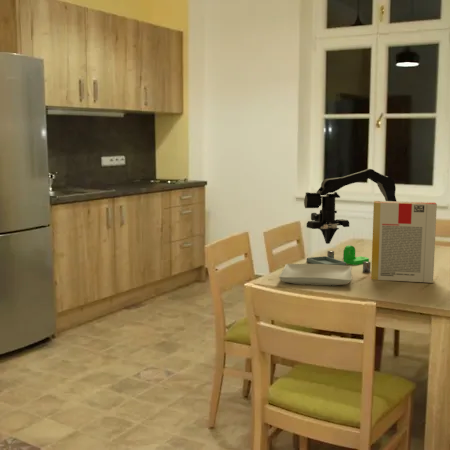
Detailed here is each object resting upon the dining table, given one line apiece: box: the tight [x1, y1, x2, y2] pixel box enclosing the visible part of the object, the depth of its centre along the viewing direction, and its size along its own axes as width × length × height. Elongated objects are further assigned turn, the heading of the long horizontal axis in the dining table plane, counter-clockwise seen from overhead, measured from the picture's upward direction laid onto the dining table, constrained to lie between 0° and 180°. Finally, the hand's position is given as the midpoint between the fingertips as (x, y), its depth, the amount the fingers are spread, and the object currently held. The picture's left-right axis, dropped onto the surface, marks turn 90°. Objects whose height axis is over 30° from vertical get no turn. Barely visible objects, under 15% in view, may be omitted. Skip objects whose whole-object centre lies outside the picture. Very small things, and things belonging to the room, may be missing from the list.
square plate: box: [278, 263, 353, 287], centre depth 238 cm, size 27×27×4 cm
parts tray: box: [306, 255, 347, 266], centre depth 266 cm, size 10×16×2 cm, turn 24°
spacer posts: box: [326, 249, 372, 273], centre depth 267 cm, size 19×31×4 cm, turn 24°
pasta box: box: [370, 200, 438, 284], centre depth 236 cm, size 23×8×30 cm, turn 75°
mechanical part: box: [342, 244, 370, 266], centre depth 270 cm, size 12×6×8 cm, turn 128°
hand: (327, 243), depth 265 cm, fingers closed
